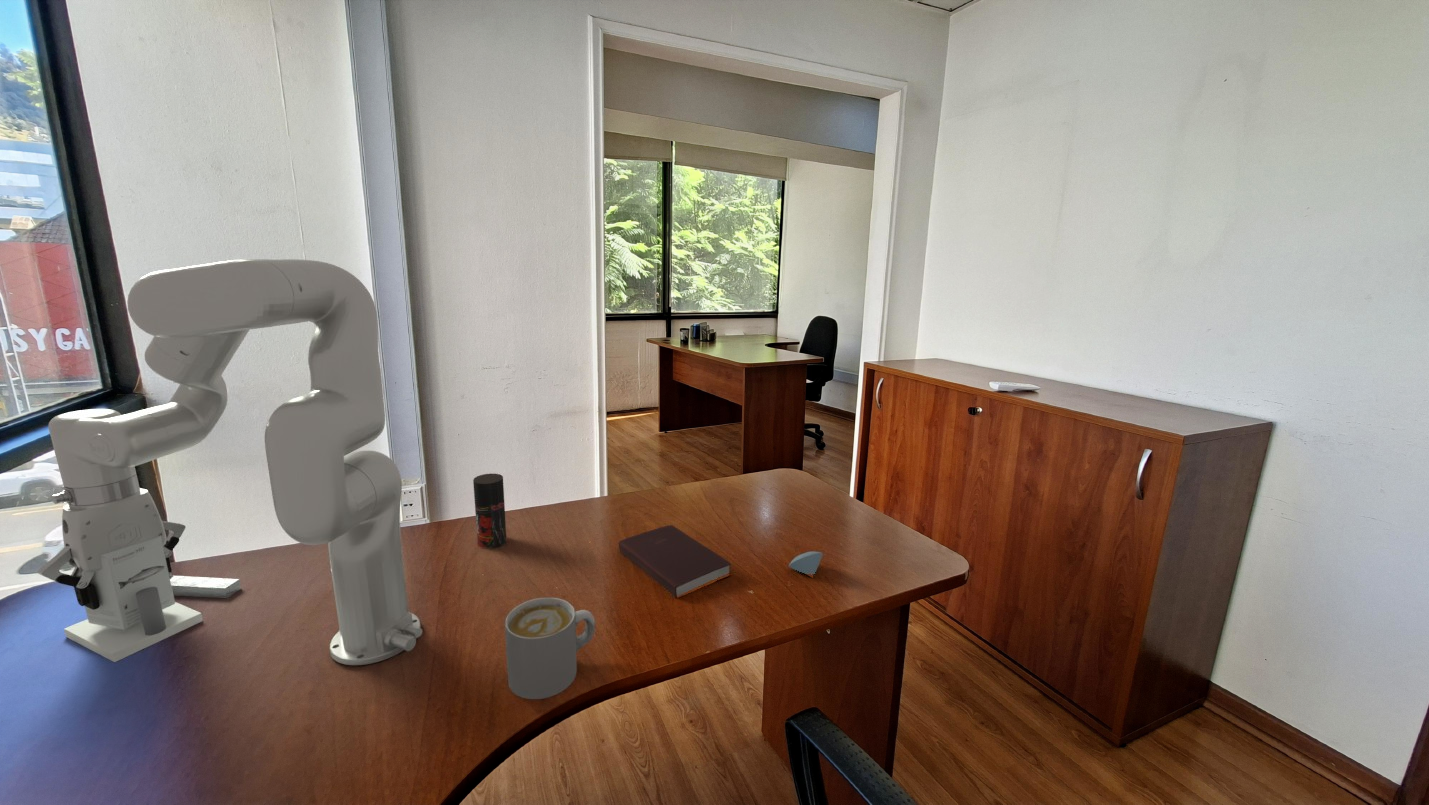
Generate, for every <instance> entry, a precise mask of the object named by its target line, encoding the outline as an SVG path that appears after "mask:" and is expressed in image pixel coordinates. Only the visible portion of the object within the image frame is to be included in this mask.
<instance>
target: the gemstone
mask: <svg viewBox="0 0 1429 805" xmlns="http://www.w3.org/2000/svg"><path fill="white" fill-rule="evenodd" d="M823 554H824V553H823V552H821V551H814V550H813V551H807V552H805V553H802V554H799V555H797V556H795V557H794V558H793V559H792V560H791V561H790V563H789V564H788V567H789V568H790V569H792V570H794V571H796V570H797V571H796V572H798V571H799V572H798V573H800V572H802V573H805V574H811V575H812V574H815V575H816V573H815V572H817V570H818V568H819V565H820V563H821V560H822V557H823ZM802 573H801V574H802Z"/></svg>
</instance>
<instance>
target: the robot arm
mask: <svg viewBox="0 0 1429 805" xmlns="http://www.w3.org/2000/svg"><path fill="white" fill-rule="evenodd" d="M376 308H377V307H376V304H375V302H374V299H373V296H372V295H371V293H370V291H369V290H368V289H367V287H366V285H364V283H362V281H361V280H360V279H359V278H357V276H355V275H354V274H352V273H351V272H349V271H348V270H346V269H344V268H342V267H339V266H337V265H335V264H332V263H329V262H324V261H319V260H310V259H293V258H292V259H290V258H289V259H284V258H283V259H267V258H266V259H260V258H259V259H256V258H255V259H253V258H252V259H251V258H250V259H248V258H247V259H232V260H226V261H218V262H212V263H205V264H198V265H191V266H186V267H179V268H170V269H163V270H157V271H152V272H149V273H148V274H146V275H143V276H142V277H140V278H139V279H138V280H137V281H136V282H135V283H134V284H133V285H132V287H131V288H130V291H129V294H128V295H127V310H128V313H129V316H130V318H131V319H132V321H133V323H134V324H135V325H136V326H137V327H138V329H140V330H142V331H143V332H145V333H146V334H149V335H151V336H153V338H152V339H151V341H150V343H149V344H148V346H147V347H146V349H145V352H144V361H145V363H146V365H147V366H148V368H150V369H151V370H152V371H153V372H155V374H157V375H159V376H160V377H162V378H164V379H166V380H168V381H170V382H173V383H176V384H179V385H178V387H177V389H176V390H175V391H174V394H173V396H171V398H170V400H168V402H167V403H164V404H161V405H156V406H153V407H148V408H145V409H140V410H136V411H131V412H129V413H126V414H125V413H124V414H121V412H119V411H117V410H114V409H111V408H110V409H109V408H90V409H82V410H81V409H80V410H75V411H74V410H73V411H68V412H65V413H61V414H58V415H55V416H54V417H53V418H51V420H50V421H48V430H49V435H50V439H51V444H52V447H53V450H54V454H55V458H56V463H57V467H58V470H59V474H60V478H61V482H62V486H61V489H62V490H61V491H60V492H58V493H56V494H53V495H51V501H52V502H53V504H54V505H56V504H66V505H63V507H62V515H61V516H62V517H61V518H62V520H61V523H62V524H61V525H62V526H61V527H62V528H61V529H62V539H63V540H62V541H63V546H64V548H63V549H61V551H59V552H58V553H57V554H56V555H55V556H54V557H52V558H51V559H49V561H48V562H46V563H45V564H44V565H42V567H41V568H39V570H38V571H37V574H38V575H40V576H43V577H45V578H47V579H49V580H51V581H54V582H56V583H58V584H62V585H64V586H68V587H69V586H70V587H73V589H74V593H75V597H76V600H77V603H78V605H80V606H81V607H85V606H86V607H88V608H90V609H92V610H95V609H97V608H99V607H100V604H99V600H98V597H97V593H96V589H95V586H94V585H93V584H91V583H90V580H91V578H92V577H93V575H94V573H95V571H98V570H101V569H102V563H101V555H104V554H106V553H109V552H112V551H116V550H119V549H122V548H124V547H128V546H130V545H134V544H137V543H140V542H143V541H147V540H150V539H153V538H156V537H158V536H161V540H162V545H163V549H164V554H165V558H166V563H167V568H168V572H169V573H172V566H171V561H170V557H171V556H172V554H173V550H174V549H175V547H176V546H177V545H178V544H179V542H180V538H181V537H182V536H183V533H184V531H185V530H186V525H184V524H182V523H178V522H173V521H172V522H171V521H167V520H166V521H165V520H162V518H161V515H160V513H159V510H158V508H157V505H156V503H155V500H154V499H153V497H152V495H151V494H150V492H149V490H148V489H145V488H141V487H140V483H139V479H138V475H137V470H136V468H135V467H137V466H140V465H143V464H146V463H148V462H152V461H154V460H159V459H160V458H162V457H165V456H168V455H171V454H175V453H177V452H181V451H183V450H186V449H189V448H192V447H194V446H197V445H198V444H200V443H201V442H202V441H203V440H205V439H206V438H207V437H208V435H209V434H211V432H212V431H213V429H214V428H215V426H216V425H217V423H218V422H219V421H220V419H221V417H222V416H223V414H224V412H225V410H226V407H227V405H228V390H227V384H226V382H225V380H224V377H223V373H224V371H225V370H226V368H227V366H229V363H230V362H231V360H232V359H233V357H234V356H235V353H236V352H237V351H238V349H239V347H240V346H241V344H242V343H243V341H244V339H245V338H246V336H247V335H248V333H249V332H250V330H256V329H265V328H272V327H278V326H285V325H292V324H293V325H294V324H300V323H305V322H310V323H313V324H314V325H315V328H314V329H315V330H314V333H313V335H312V337H311V340H310V344H309V347H308V353H307V354H308V357H307V362H308V366H309V367H308V368H309V373H310V375H309V376H310V390H309V393H307V394H303V395H300V396H297V397H294V398H291V399H289V400H287V401H285V402H283V403H281V405H279V406H278V407H277V408H276V409H274V411H273V412H272V414H271V415H270V416H269V418H268V420H267V423H266V426H265V430H264V445H265V446H264V449H265V455H266V462H267V468H268V469H267V470H268V476H269V481H270V488H271V496H272V502H273V507H274V511H275V515H276V518H277V520H278V523H279V525H280V527H281V528H282V530H283V531H284V532H285V533H286V535H288V536H289V537H290V538H291V539H293V540H294V541H296V542H298V543H300V544H303V545H308V546H318V545H324V544H327V543H328V556H329V564H330V572H331V578H332V586H333V592H334V600H335V608H336V613H337V620H338V621H337V622H338V627H339V628H338V629H339V630H338V632H336V634H335V635H334V636H333V637H332V639H331V640H330V643H329V652H330V653H329V654H330V657H331V658H332V659H333V660H334V661H335V662H337V663H339V664H343V665H346V666H363V665H371V664H375V663H378V662H379V663H380V662H382V661H384V660H387V659H390V658H392V657H395V656H397V655H398V654H400V653H402V652H403V651H406V652H410V651H412V650H413V649H414V648H415V647H416V644H417V639H418V638H420V637H421V636H422V634H423V628H421V627H422V626H421V625H422V624H421V620H420V618H419V617H418V616H417V615H416V614H414V613H412V612H410V611H409V606H408V605H409V604H408V595H407V585H406V576H405V566H404V559H403V558H404V557H403V548H402V536H401V526H400V524H401V522H400V519H401V517H400V513H401V503H402V502H401V500H402V492H403V491H402V484H403V482H402V477H401V472H400V470H399V468H398V466H397V464H396V463H395V461H393V459H392V458H390V457H389V456H388V455H386V454H384V453H382V452H379V451H376V450H359V449H360V448H363V447H365V446H366V445H369V444H370V443H371V442H374V441H375V440H376V439H377V438H379V437H380V435H382V433H383V431H384V428H385V426H386V411H385V410H386V409H385V402H384V401H385V398H384V389H383V381H382V380H383V379H382V371H381V370H382V369H381V362H380V355H379V353H380V352H379V323H378V314H377V313H378V312H377V309H376ZM357 450H359V451H357ZM166 531H169V532H168V535H167V534H166ZM67 563H68V564H69V565H71V566H73V567H74V566H76V567H74V568H73V571H72V573H71V574H67V573H63V572H61V571H60V569H61V568H62V567H63V566H65V564H67ZM169 577H170V575H169Z"/></svg>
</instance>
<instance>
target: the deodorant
mask: <svg viewBox="0 0 1429 805" xmlns="http://www.w3.org/2000/svg"><path fill="white" fill-rule="evenodd" d="M472 482H473V496H474V498H473V499H474V509H475V510H474V511H475V522H476V524H475V526H476V540H477V542H476V543H477V547H479V548H481V549H483V550H484V549H485V550H492V549H498V548H500V547H502V546H504V545H505V544H506V543H507V527H506V526H507V525H506V523H507V522H506V511H505V510H506V508H505V507H506V506H505V504H506V503H505V491H504V490H505V489H504V476H503V475H502V474H499V473H485V474H480V475H477V476H475V477H474V478H473V479H472Z"/></svg>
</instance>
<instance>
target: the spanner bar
mask: <svg viewBox="0 0 1429 805" xmlns="http://www.w3.org/2000/svg"><path fill="white" fill-rule="evenodd" d="M169 575H170V581H171V586H172V590H173V595H174V596H179V597H196V598H197V597H198V598H216V599H217V598H220V599H228V598H229V597H232V595H234V594H235V593H237V592H238V591H240V590H241V589H242V585H241V580H240V578H227V577H226V578H225V577H224V578H222V577H207V576H204V577H203V576H187V575H174V574H173V573H172V572H170V573H169Z"/></svg>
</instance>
